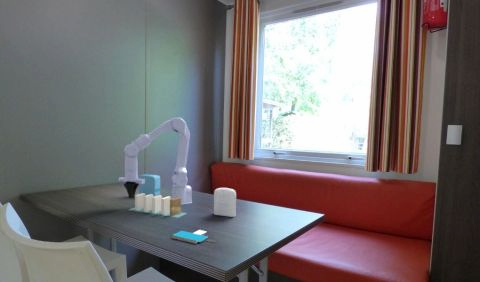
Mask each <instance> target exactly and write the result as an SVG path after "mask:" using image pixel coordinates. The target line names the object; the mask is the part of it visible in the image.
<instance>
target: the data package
mask: <svg viewBox="0 0 480 282" xmlns="http://www.w3.org/2000/svg"><path fill="white" fill-rule="evenodd" d="M138 178H140V179H145V183H144V184H140V183H139V185H138V191H139V192H138V194H141V193H145V196H146V195H149V194H153V197H155V196H158V195H161V176H160V175H158V174H149V173H148V174H147V173H146V174H140V175H138Z"/></svg>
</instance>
